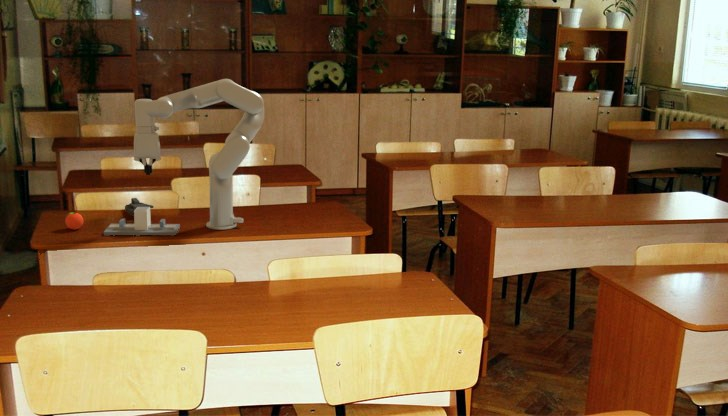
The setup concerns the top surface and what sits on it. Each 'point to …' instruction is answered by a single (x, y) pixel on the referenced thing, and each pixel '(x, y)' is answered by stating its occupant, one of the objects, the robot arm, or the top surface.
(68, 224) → the clementine
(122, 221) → the rail
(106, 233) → the board
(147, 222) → the block
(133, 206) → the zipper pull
